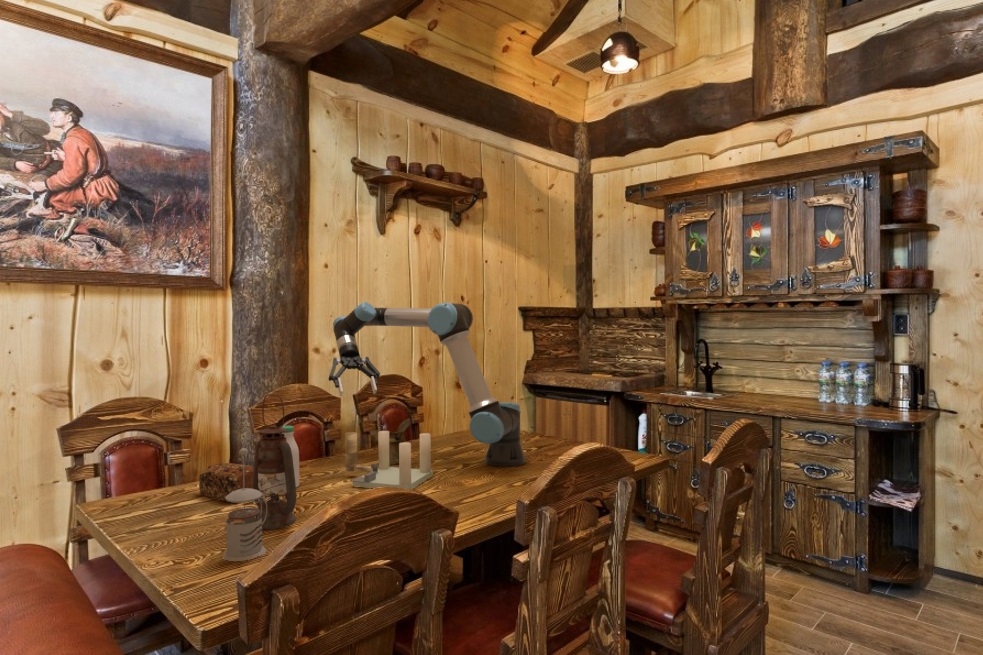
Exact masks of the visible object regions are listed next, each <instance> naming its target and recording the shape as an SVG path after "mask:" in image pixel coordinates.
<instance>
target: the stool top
mask: <svg viewBox="0 0 983 655" xmlns="http://www.w3.org/2000/svg"><path fill="white" fill-rule="evenodd" d="M389 432H390V431H389V430H380V431H378V432H377V436H378V437H377V438H378V444H377V445H378V472H373V471H371V472H366V474H363V475H362V476H357V477H355V478H353V479H350V482H352V487H353V486H360V487H365V488H364V489H369V490H370V489H371V488H377V487H397V488H405V489H411V491H413V490H414V489H415V488H417V487H418V486H420V485H421V484H423V483H424V482H427V481H428V480H429V479H430V477H431V478H432V477H433V476H434V470H432V466H431V465H432V464H431V463H432V458H431V456H432V453H431V450H432V449H431V445H432V444H431V442H432V441H431V433H430V432H425V433H424V432H422V433H419V468H418V469H417V468H412V443H411V442H408V441H405V442H403V443H401V442H400V443H399V464H398V467H396V466H390V465H389ZM427 479H428V480H427ZM422 482H423V483H422ZM419 484H420V485H419ZM369 487H371V488H369ZM413 488H414V489H413Z"/></svg>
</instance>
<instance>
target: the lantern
mask: <svg viewBox="0 0 983 655" xmlns="http://www.w3.org/2000/svg"><path fill="white" fill-rule="evenodd" d="M268 396H270V397H272V396H273V397H277V398H279V400H280V403H281V407H282V424H281V426H279V427H278V426H277V425H270V426H269V425H267V424H266V422H265V417H264V415H265V413H264V411H265V410H264V409H265V401H266V398H267V397H268ZM261 414H262V422H263V425H264V426H265V427H266V428H263V429H260V430H259V431H258V434H261V435H262V436H261V438H260V439H259V440H258V441H257V443H256V448H255V453H254V462H253V463H254V464H253V467H254V472H253V489H255V490H258V491H260V492H261V493H262V496H261V497H262V498H264V499H265V501H266V503H267V516H266V520H265V521H264V519H265V515H266V503H265V501H264V500H263V499H262V498H259V499H260V501H261V504H262V514H261V516H262V523H263V521H264V523H263V524H262V529H271V530H276V529H275V528H279V529H282V528H281V527H283V528H286V527H285V526H287V527H289V526H292V525H294V523H295V522H296V515H295V514H294V513H293V511H294V509H295V507H296V505H297V504H296V503H297V487H296V483H295V474H294V465H293V457H292V451H291V448H290V445H289V444H288V443H287V442H286V437H284V436H285V435H284V434H282V433H283V432H286V431H288V429H286V428H282V427H283V426H284V423H285V408H284V402H283V399H282V397H281V396H280V395H278V394H271V393H270V394H269V393H268V394H266V395H265V396H264V398H263V402H262V412H261ZM284 472H285V473H284ZM275 474H277V476H276V479H275V476H274V475H275ZM270 475H272V477H271V476H270ZM284 477H285V479H284ZM262 478H263V479H262ZM285 480H286V481H285ZM277 481H278V482H277ZM284 481H285V482H284ZM281 482H283V483H282V484H281ZM275 484H277V485H275ZM278 485H279V486H278ZM283 485H284V487H283ZM275 486H276V487H275ZM277 486H278V487H277ZM282 487H283V488H282ZM281 489H283V490H281ZM280 492H281V493H280ZM279 493H280V494H279ZM280 497H282V498H283V499H280ZM267 500H268V501H267ZM260 501H259V503H254V504H255V505H256V506H257V509H259V510H260V513H261V504H260ZM254 502H258V499H257V500H254ZM260 513H259V514H258V515H260ZM256 521H257V516H255V522H256ZM255 529H257V527H256V528H255Z"/></svg>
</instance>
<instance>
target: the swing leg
mask: <svg viewBox="0 0 983 655" xmlns="http://www.w3.org/2000/svg"><path fill="white" fill-rule="evenodd" d="M344 434H345V438H344V440H345V442H344V443H345V445H344V446H345V447H344V448H345V471H347V472H363V473H369V472H371V471H373V472H378V468H379V463H372V464H371V465H370V466H369V465H358V432H355V431H351V432H348V431H347V432H345V433H344Z"/></svg>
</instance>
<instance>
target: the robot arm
mask: <svg viewBox="0 0 983 655" xmlns="http://www.w3.org/2000/svg"><path fill="white" fill-rule="evenodd" d="M473 321H474V316H473V312H472V310H471V309H470V308H469V307H468V305H465V304H464V303H453V302H452V303H450V302H442V303H441V302H440V303H438V304H436V305H434V306H433V307H432V308H426V307H425V308H424V307H421V308H419V307H415V308H414V307H412V308H410V307H374V306H373V305H372V303H368V302H367V301H363V302H361V303H360V304H359V305H356V307H355V308H354V309H353V310H351V312H350V313H349V314H348V315H347V316H345V315H341V316H339V317H336V318H334V320H333V321H332V322H333V323H332V326H333V327H332V328H333V333H334V334H333V335H334V336H335V341H336V344H337V350H338V356H339V358H337V357H333V360H332V367H331V370H330V373H329V375H328V376H329V377H328V381H329V382H330V381H332V382H333V384H334V387H335V388H336V389H338V394H339V397H342V396H343V394H344V390H343V385H342V380H341V376H342V374H344V373H345V371H346V370H347V369H348V370H357V371H360V372H361V373H363V374H365V375H366V376H367V377H368V378H370V381H369V382H370V385H371V389H372V393H373V395H376V394H377V390H378V388H377V385H378V379H380V375H381V372H380V371H379V370H378V369H377V367H375V365H374V364H373V363H372V362H371V361H370V358H369V356H365V357H364V358H362V357H361V355H360V352H359V348H358V343H357V339H356V334H357V333H358V332H360V330H362V329H363V328H364V327H369V326H370V327H373V326H374V327H378V326H379V327H412V328H413V327H414V328H415V327H416V328H429V330H430V331H431V332H432V333H433V334H435V335H437V338H438V340H439V342H440V344H442V345H444V346H446V348H447V351H448V353H449V356H450V359H451V360H452V363H453V365H454V368H455V371H456V373H457V377H458V379H459V381H460V384H461V386H462V388H463V390H464V393H465V395H466V399H467V401H468V403H469V405H470V407H469V410H468V414H469V417H470V423H469V430H470V433H471V435H472V437H473V438H474V439H475V440H476V441H478V442H479V443H481V444H486V445H488V447H487V450H486V454H485V457H484V458H485V460H484V461H485V464H487V465H489V466H492V467H493V466H494V467H501V468H504V467H505V468H506V467H507V468H509V467H511V468H512V467H517V466H522V465H524V464H525V463H526V461H525V460H526V458H525V453H524V449H523V447H522V444H521V413H522V412H521V406H520V404H519V403H516V402H502V401H501V402H500V401H499V399H497V398H495V397H493V396H492V393H491V391H490V388H489V386H488V383H487V381H486V378H485V376H484V374H483V371H482V369H481V367H480V364H479V360H478V359H477V357H476V354H475V351H474V348H473V347H472V344H471V342H470V339H469V335H470V333H471V332H470V328H471V327H472V325H473ZM339 364H340V365H341V367H340V368H339V370H338V371H337V372H336V373H335V371H336V367H337V366H338V365H339Z"/></svg>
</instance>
